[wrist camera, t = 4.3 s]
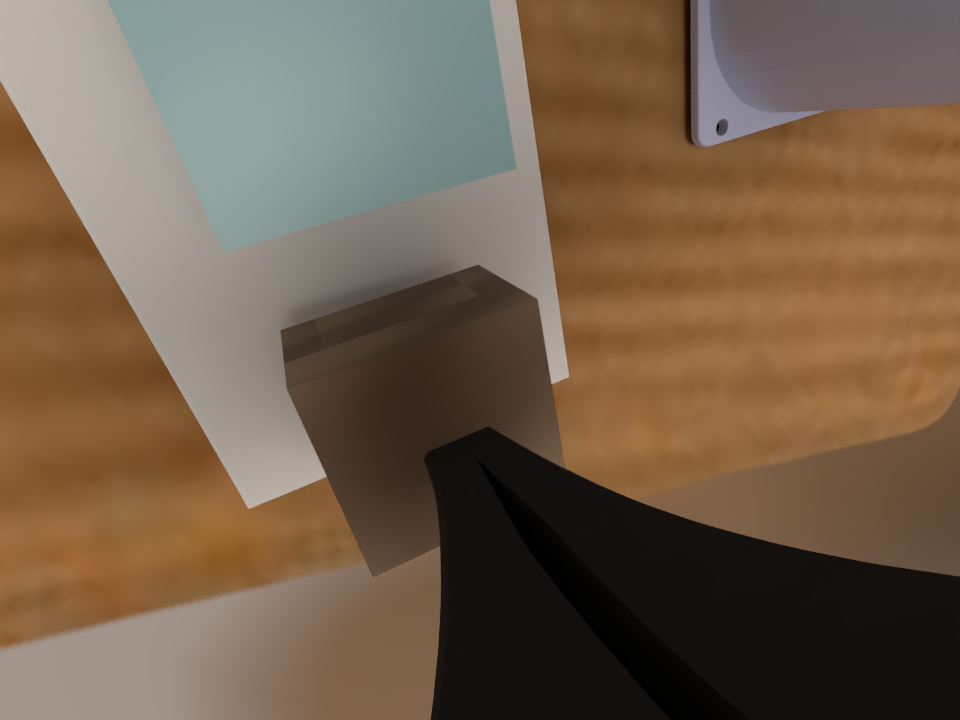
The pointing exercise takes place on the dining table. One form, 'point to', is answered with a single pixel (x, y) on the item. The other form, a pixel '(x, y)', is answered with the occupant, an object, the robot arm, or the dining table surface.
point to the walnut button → (417, 397)
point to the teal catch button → (321, 103)
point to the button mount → (264, 265)
